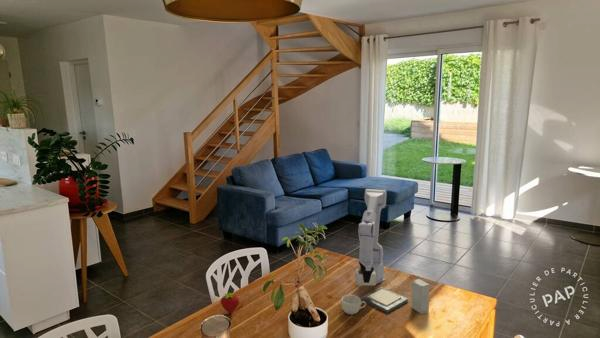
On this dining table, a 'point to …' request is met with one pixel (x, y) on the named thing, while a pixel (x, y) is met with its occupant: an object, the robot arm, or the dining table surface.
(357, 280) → the block
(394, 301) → the stand
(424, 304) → the skincare box
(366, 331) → the dining table surface
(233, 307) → the strawberry
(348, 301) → the teacup
